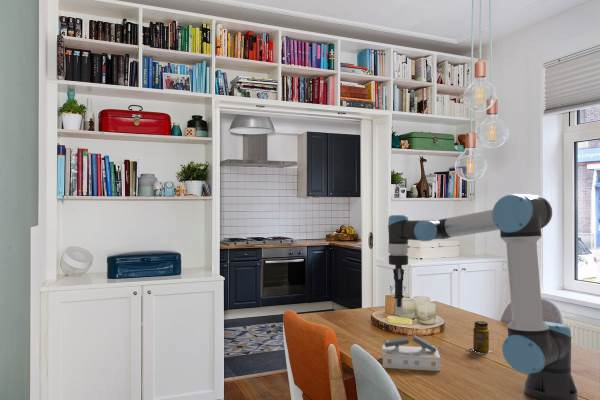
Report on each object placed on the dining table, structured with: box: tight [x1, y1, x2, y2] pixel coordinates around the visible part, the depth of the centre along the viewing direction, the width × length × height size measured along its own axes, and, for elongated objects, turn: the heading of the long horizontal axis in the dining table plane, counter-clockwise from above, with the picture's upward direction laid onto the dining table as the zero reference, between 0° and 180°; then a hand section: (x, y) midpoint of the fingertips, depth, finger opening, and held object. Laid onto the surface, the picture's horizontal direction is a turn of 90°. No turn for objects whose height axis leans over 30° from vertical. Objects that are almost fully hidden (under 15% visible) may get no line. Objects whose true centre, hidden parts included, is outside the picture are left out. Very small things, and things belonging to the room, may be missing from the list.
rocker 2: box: [411, 334, 437, 353], centre depth 182 cm, size 4×9×2 cm, turn 80°
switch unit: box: [382, 344, 441, 372], centre depth 183 cm, size 12×21×7 cm, turn 80°
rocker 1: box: [384, 336, 410, 347], centre depth 184 cm, size 4×9×2 cm, turn 80°
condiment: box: [466, 320, 494, 356], centre depth 199 cm, size 7×8×12 cm
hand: (398, 314), depth 186 cm, fingers closed
